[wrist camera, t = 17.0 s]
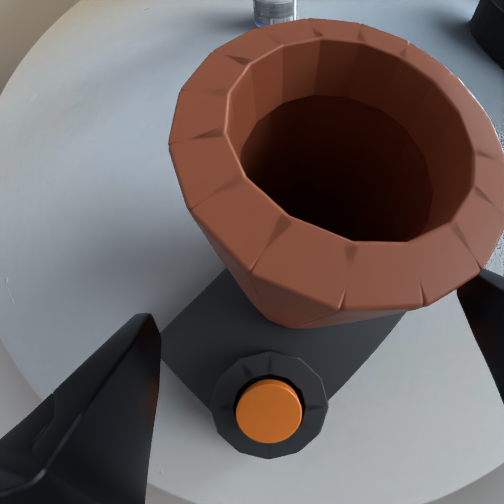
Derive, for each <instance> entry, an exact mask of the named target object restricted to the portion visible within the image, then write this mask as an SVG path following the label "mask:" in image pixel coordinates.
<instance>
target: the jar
mask: <svg viewBox="0 0 504 504" xmlns="http://www.w3.org/2000/svg"><path fill="white" fill-rule="evenodd" d="M168 145H169V152H170V156H171V159H172V162H173V166H174V169H175V172H176V175H177V179H178V182H179V185H180V188H181V191H182V194H183V197H184V201H185V204H186V207H187V209H188V210H189V212H190V213H191V215H192V217H193V218H194V220H195V221H196V223H197V224H198V226H199V227H200V229H201V230H202V232H203V233H204V235H205V236H206V238H207V239H208V241H209V242H210V243H211V245H212V246H213V248H214V250H215V251H216V253H217V254H218V256H219V257H220V258H221V260H222V261H223V263H224V264H225V266H226V267H227V269H228V270H229V271H230V273H231V274H232V276H233V277H234V279H235V280H236V281H237V283H238V284H239V286H240V287H241V289H242V290H243V291H244V293H245V294H246V296H247V297H248V298H249V300H250V301H251V303H252V304H253V305H254V306H255V307H256V308H257V309H258V310H259V311H260V312H261V313H262V314H263V315H264V316H265V317H266V318H267V319H268V320H270V321H272V322H274V323H276V324H278V325H281V326H284V327H286V328H290V329H313V328H319V327H326V326H332V325H339V324H345V323H351V322H357V321H362V320H368V319H373V318H378V317H382V316H387V315H392V314H397V313H402V312H407V311H411V310H416V309H419V308H422V307H426V306H429V305H431V304H432V303H434V302H436V301H437V300H439V299H441V298H442V297H444V296H446V295H447V294H449V293H451V292H452V291H454V290H455V289H457V288H458V287H460V286H462V285H463V284H465V283H466V282H468V281H469V280H471V279H472V278H474V277H475V276H477V275H478V274H479V272H480V271H482V270H483V269H484V267H485V266H486V264H487V262H488V260H489V258H490V256H491V254H492V252H493V251H494V249H495V247H496V245H497V243H498V241H499V239H500V236H501V234H502V232H503V230H504V152H503V149H502V147H501V144H500V141H499V139H498V136H497V134H496V131H495V129H494V127H493V124H492V122H491V120H490V117H489V116H488V115H487V114H486V112H485V110H484V109H483V108H482V107H481V105H480V104H479V103H478V101H477V100H476V99H475V98H474V96H473V95H472V94H471V93H470V91H469V90H468V89H467V88H466V87H465V85H464V84H463V83H462V82H461V81H460V80H459V78H458V77H457V76H456V75H454V74H452V72H451V71H450V70H449V69H448V68H446V67H445V66H444V65H442V64H441V63H440V62H438V61H437V60H435V59H434V58H433V57H431V56H430V55H428V54H427V53H425V52H424V51H422V50H421V49H419V48H418V47H416V46H415V45H413V44H411V43H409V41H407V40H404V39H402V38H399V37H397V36H394V35H392V34H389V33H386V32H384V31H381V30H378V29H375V28H373V27H370V26H367V25H364V24H359V23H355V22H347V21H338V20H327V19H313V18H309V19H300V20H294V21H288V22H282V23H277V24H272V25H267V26H262V27H259V28H255V29H253V30H251V31H249V32H247V33H245V34H243V35H241V36H239V37H237V38H235V39H233V40H231V41H230V42H228V43H226V44H224V45H222V46H221V47H219V48H217V49H215V50H214V51H213V52H211V53H210V54H209V55H208V57H207V58H206V59H205V60H204V61H203V62H202V64H201V65H200V66H199V67H198V68H197V70H196V71H195V72H194V73H193V74H192V76H191V77H190V78H189V79H188V81H187V82H186V83H185V84H184V86H183V87H182V88H181V91H180V92H179V95H178V100H177V104H176V108H175V113H174V117H173V122H172V127H171V132H170V137H169V142H168Z"/></svg>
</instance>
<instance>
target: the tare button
mask: <svg viewBox="0 0 504 504" xmlns="http://www.w3.org/2000/svg"><path fill="white" fill-rule="evenodd" d="M301 418H302V408H301V404H300V402H299V399H298V396H297V394H296V393H295V391H294V390H293V389H292V388H291V387H290V386H289V385H288V384H286V383H284V382H282V381H279V380H275V379H265V380H260V381H257V382H255V383H253V384H252V385H250V386H249V387H248V388H247V389H246V390H245V392H244V393H243V395H242V397H241V399H240V400H239V402H238V405H237V409H236V419H237V423H238V425H239V427H240V429H241V430H242V432H243V433H244V434H245V435H246V436H248V437H249V438H251V439H253V440H255V441H257V442H261V443H276V442H280V441H283V440H285V439H287V438H288V437H290V436H291V435H292V434H293V433H294V432H295V431H296V430H297V428H298V427H299V425H300V422H301Z"/></svg>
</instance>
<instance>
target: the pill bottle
mask: <svg viewBox="0 0 504 504" xmlns="http://www.w3.org/2000/svg"><path fill="white" fill-rule="evenodd" d="M253 6H254V17H255V24H256V25H257V26H258V27H262V26H267V25H272V24H277V23H282V22H288V21H294V20H297V0H253Z"/></svg>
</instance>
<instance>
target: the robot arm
mask: <svg viewBox="0 0 504 504" xmlns="http://www.w3.org/2000/svg"><path fill="white" fill-rule="evenodd" d="M457 297H458V299H459V301H460V304H461V306H462V308H463V311H464V313H465V315H466V318H467V320H468V323H469V325H470V328H471V330H472V333H473V335H474V337H475V340H476V342H477V344H478V346H479V348H480V350H481V352H482V354H483V356H484V359H485V361H486V363H487V365H488V367H489V370H490V372H491V374H492V377H493V379H494V381H495V384H496V386H497V388H498V391H499V393H500V396H501V399H502V401H503V404H504V277H503V276H500V275H498V274H496V273H493V272H491V271H489V270H486V269H483V270H482V271H480V272H479V274H478V275H477V276H475V277H474V278H472V279H471V280H469V281H468V282H466V283H465V284H463V285H462V286H460V287H458V288H457ZM161 345H162V340H161V335H160V333H159V330H158V328H157V326H156V323H155V321H154V318H153V316H152V315H151V314H150V313H141V314H136V315H134V316H133V317H132V318H131V319H130V320H129V321H128V322H127V323H126V324H125V325H123V326H122V327H121V328H120V329H119V330H118V331H117V332H116V333H115V334H114V335H113V336H112V337H110V338H109V339H108V340H107V341H106V342H105V343H104V344H103V345H102V346H101V347H100V348H99V349H98V350H96V351H95V352H94V353H93V354H92V355H91V356H90V357H89V358H88V359H87V360H86V361H85V362H84V363H83V364H82V365H81V366H79V367H78V368H77V369H76V370H75V371H74V372H73V373H72V374H71V375H70V376H69V377H68V378H67V379H66V380H65V381H64V382H63V383H62V384H61V385H60V386H59V387H58V388H56V389H55V390H54V392H53V394H50V395H49V396H48V397H47V398H46V399H45V400H44V401H43V402H42V403H41V404H40V405H39V406H38V407H37V408H36V409H35V410H34V411H33V412H32V413H30V414H29V415H28V416H27V417H26V418H25V419H23V420H22V421H21V422H20V423H19V424H18V425H16V426H15V427H14V428H13V429H12V430H11V431H9V432H8V433H7V434H6V435H5V436H3V437H2V438H1V439H0V504H145V495H146V485H147V476H148V467H149V458H150V450H151V442H152V435H153V427H154V420H155V414H156V407H157V401H158V393H159V382H160V361H161Z"/></svg>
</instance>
